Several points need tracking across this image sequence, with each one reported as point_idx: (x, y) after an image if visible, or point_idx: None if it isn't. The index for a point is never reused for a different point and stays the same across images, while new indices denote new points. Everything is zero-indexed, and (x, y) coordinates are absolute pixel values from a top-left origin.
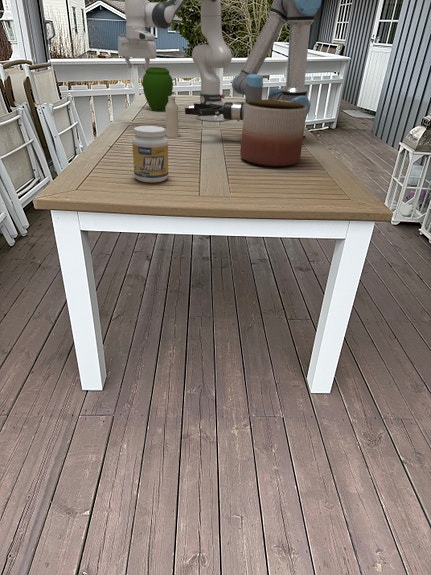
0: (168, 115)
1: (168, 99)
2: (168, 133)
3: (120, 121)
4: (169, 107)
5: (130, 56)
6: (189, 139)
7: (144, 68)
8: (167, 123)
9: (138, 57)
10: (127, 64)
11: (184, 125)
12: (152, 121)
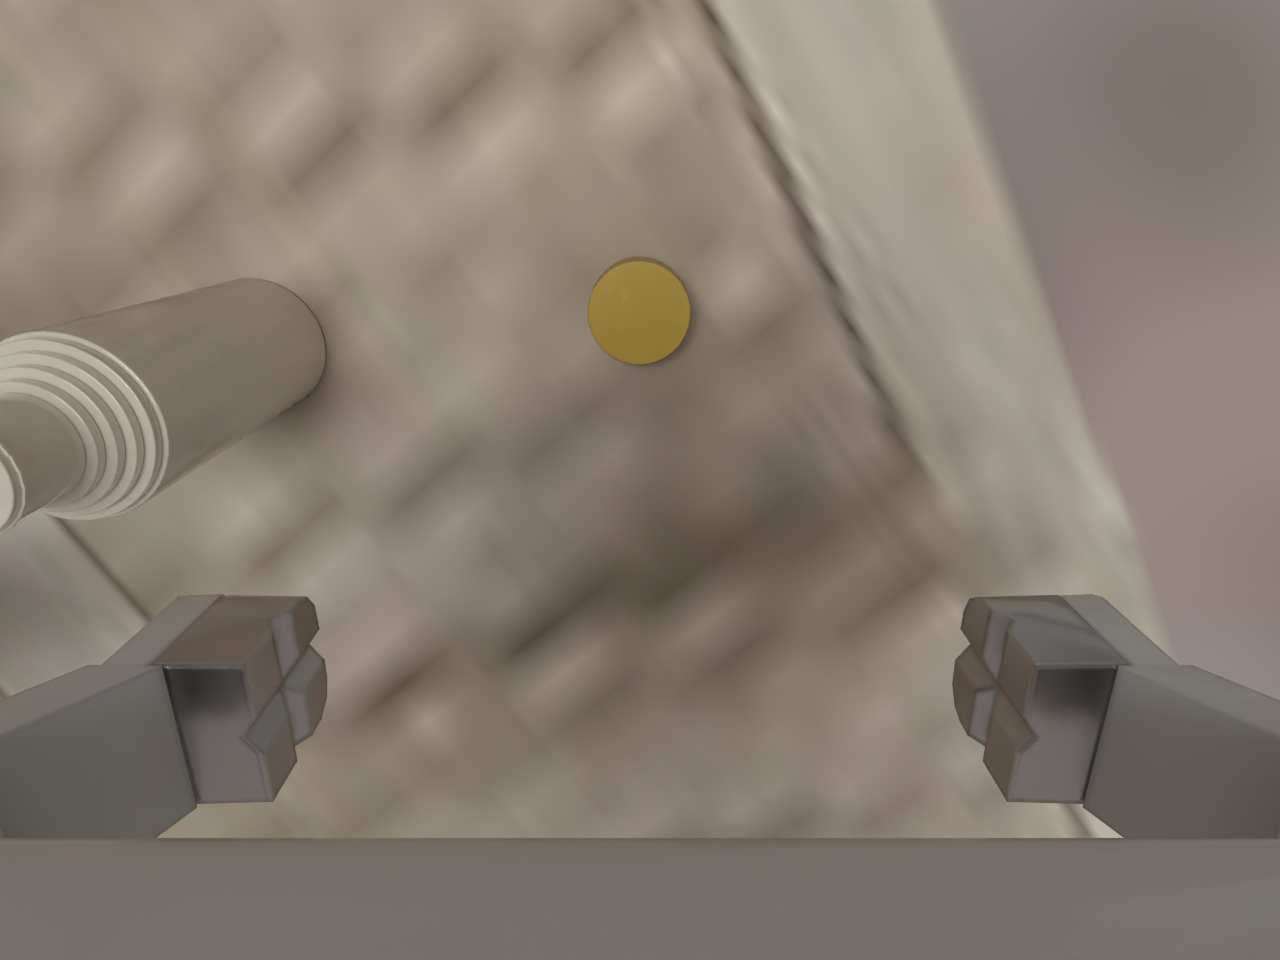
0: (114, 312)
1: (11, 420)
2: (235, 282)
3: (1105, 579)
4: (23, 337)
5: (1067, 850)
6: (29, 323)
7: (240, 595)
8: (192, 298)
9: (314, 841)
10: (1139, 643)
11: (491, 795)
12: (832, 762)
